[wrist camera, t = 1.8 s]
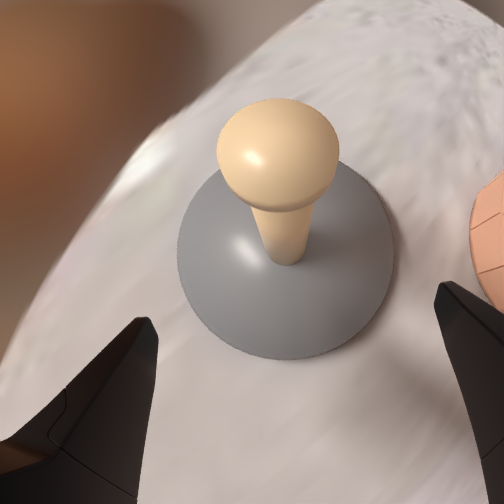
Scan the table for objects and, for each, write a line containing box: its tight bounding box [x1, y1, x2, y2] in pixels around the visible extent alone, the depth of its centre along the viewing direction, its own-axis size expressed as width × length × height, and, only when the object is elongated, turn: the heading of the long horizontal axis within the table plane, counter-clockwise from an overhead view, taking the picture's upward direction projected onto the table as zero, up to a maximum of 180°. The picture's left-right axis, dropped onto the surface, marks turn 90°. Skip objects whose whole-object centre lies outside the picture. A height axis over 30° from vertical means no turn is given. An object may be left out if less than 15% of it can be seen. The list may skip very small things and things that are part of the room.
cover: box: [177, 99, 394, 360], centre depth 15 cm, size 14×14×13 cm
